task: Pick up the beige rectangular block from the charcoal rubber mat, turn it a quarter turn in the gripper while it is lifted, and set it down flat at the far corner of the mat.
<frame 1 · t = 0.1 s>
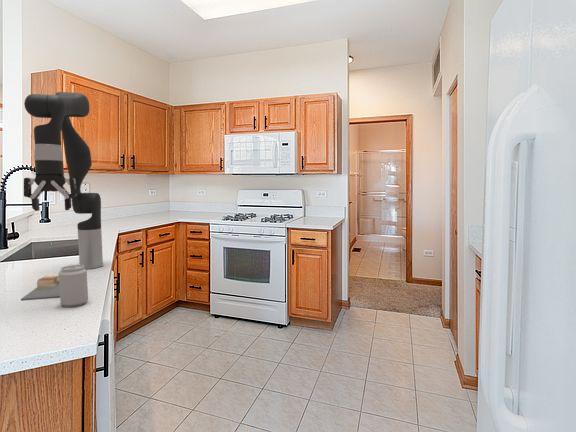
hand: (52, 210, 114), 29 cm above the countertop, fingers open, 8 cm apart
beige rectangular block: (49, 285, 128), resting on mat
mat: (56, 289, 126), on the countertop
can: (74, 304, 111), on the countertop
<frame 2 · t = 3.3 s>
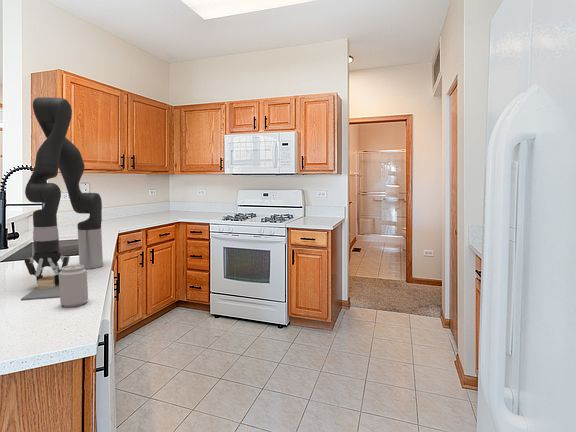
hand: (49, 284, 128), 1 cm above the countertop, fingers closed on beige rectangular block, 4 cm apart
beige rectangular block: (49, 285, 128), resting on mat, touching gripper
everything else where it was.
when the fingers open (3 cm above the countertop, at t = 8.7 s): beige rectangular block drops 2 cm, resting on mat.
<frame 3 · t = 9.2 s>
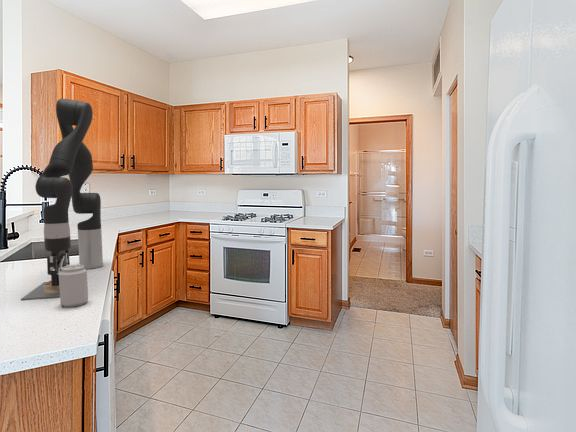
hand: (60, 282, 122), 4 cm above the countertop, fingers open, 8 cm apart
beige rectangular block: (60, 290, 123), resting on mat
everything else where it was.
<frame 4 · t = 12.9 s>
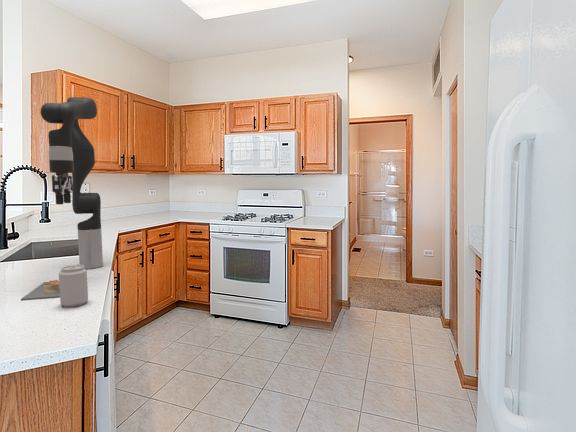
hand: (63, 203, 131), 30 cm above the countertop, fingers open, 8 cm apart
nothing on the countertop moved.
at the end: beige rectangular block 0.1 cm from the target spot on the mat, point 0.5 cm above the mat's base; beige rectangular block tilted 0°; the gripper is holding nothing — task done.
